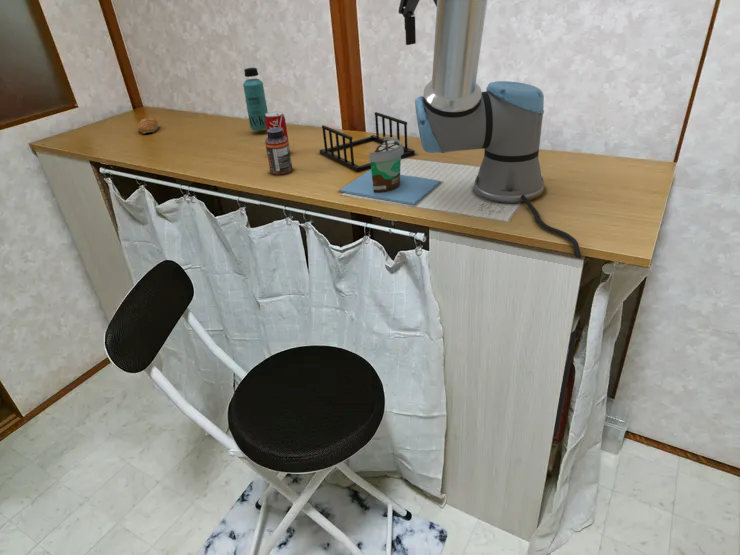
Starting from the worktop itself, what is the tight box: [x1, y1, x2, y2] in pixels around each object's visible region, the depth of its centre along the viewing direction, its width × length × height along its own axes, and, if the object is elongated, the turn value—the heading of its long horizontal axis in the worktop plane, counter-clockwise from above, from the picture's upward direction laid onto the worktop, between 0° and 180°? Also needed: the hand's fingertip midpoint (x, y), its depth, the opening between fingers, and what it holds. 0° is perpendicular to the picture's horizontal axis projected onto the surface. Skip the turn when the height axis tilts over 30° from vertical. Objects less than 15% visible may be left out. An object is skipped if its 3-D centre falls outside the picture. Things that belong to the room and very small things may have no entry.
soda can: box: [265, 110, 291, 151], centre depth 150 cm, size 6×6×12 cm
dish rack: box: [319, 111, 416, 173], centre depth 146 cm, size 20×19×8 cm
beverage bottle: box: [242, 67, 269, 132], centre depth 168 cm, size 6×7×20 cm
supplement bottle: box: [264, 128, 293, 176], centre depth 138 cm, size 6×6×11 cm
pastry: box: [137, 116, 159, 135], centre depth 184 cm, size 9×7×4 cm
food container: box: [368, 136, 404, 193], centre depth 124 cm, size 12×6×10 cm, turn 162°
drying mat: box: [339, 169, 441, 206], centre depth 127 cm, size 20×14×1 cm
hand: (427, 46), depth 134 cm, fingers open, 13 cm apart
